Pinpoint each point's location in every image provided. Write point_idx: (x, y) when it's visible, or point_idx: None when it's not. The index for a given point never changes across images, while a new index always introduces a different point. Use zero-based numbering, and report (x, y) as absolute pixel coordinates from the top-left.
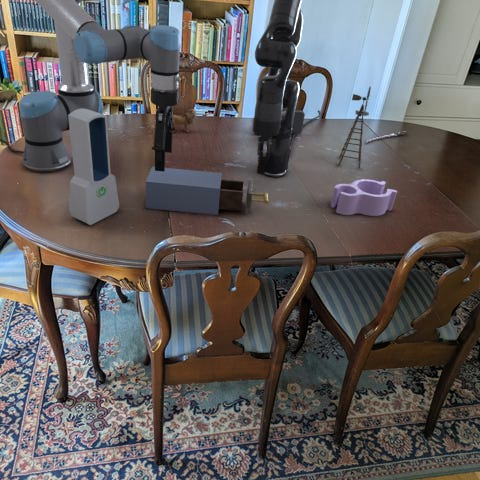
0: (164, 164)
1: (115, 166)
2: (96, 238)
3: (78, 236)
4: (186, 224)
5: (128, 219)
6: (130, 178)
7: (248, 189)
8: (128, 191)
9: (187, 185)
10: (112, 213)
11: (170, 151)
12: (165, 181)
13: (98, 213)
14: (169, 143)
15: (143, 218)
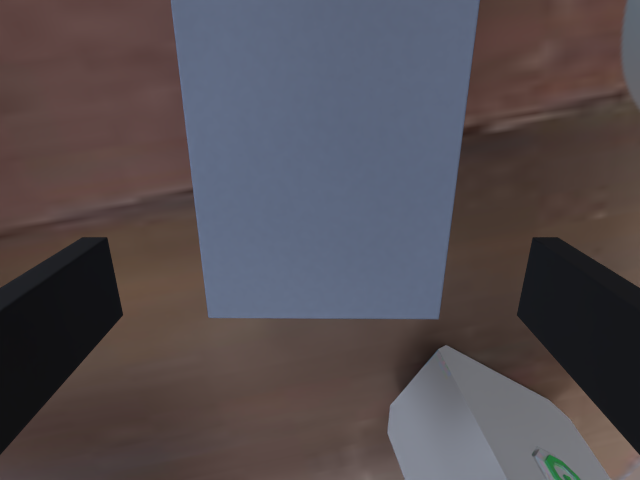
0: (604, 268)
1: (56, 423)
2: None
3: None
4: (546, 26)
5: (499, 293)
6: (141, 353)
7: None
8: (262, 337)
9: (477, 17)
10: (464, 355)
11: (100, 252)
12: (425, 200)
13: (533, 406)
14: (50, 308)
15: (490, 239)
